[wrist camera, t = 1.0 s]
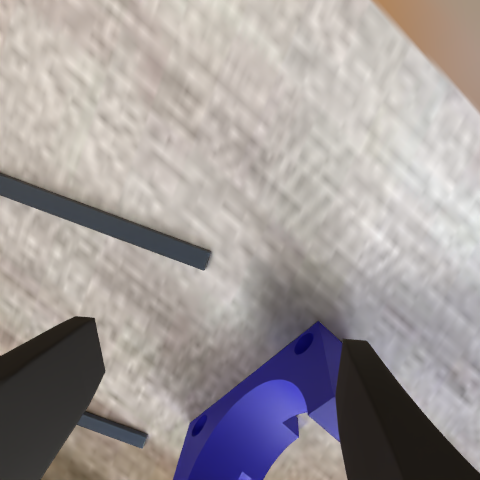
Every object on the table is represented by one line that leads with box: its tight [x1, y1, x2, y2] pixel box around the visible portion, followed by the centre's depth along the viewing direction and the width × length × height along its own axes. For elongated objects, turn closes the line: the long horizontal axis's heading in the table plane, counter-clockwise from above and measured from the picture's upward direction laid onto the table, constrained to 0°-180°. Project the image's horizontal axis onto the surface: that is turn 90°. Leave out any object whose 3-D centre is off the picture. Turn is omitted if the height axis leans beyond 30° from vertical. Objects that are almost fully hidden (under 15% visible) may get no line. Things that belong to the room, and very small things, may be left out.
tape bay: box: [0, 173, 211, 448], centre depth 22 cm, size 16×17×1 cm
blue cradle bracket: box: [173, 321, 342, 480], centre depth 19 cm, size 12×4×6 cm, turn 137°
